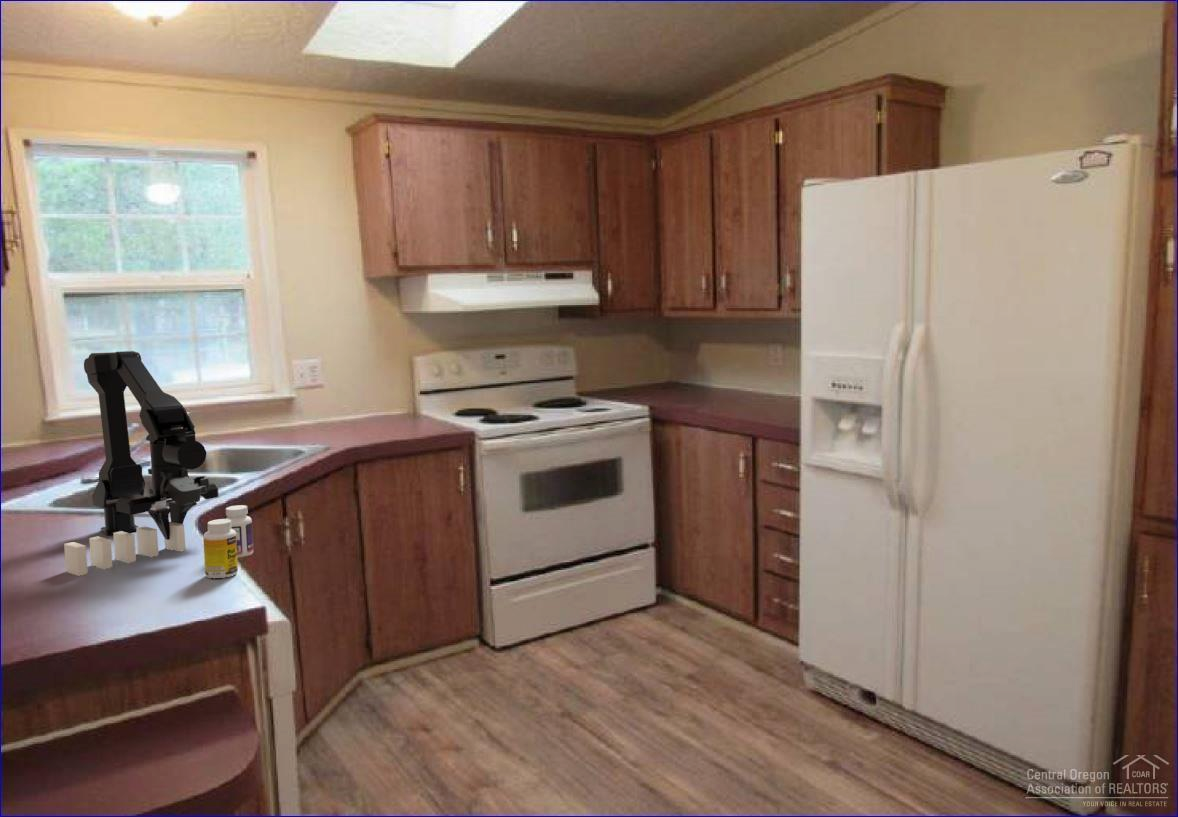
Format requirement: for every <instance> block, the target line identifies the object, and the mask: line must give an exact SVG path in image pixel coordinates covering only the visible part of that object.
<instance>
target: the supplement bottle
mask: <svg viewBox="0 0 1178 817" xmlns="http://www.w3.org/2000/svg"><path fill="white" fill-rule="evenodd" d="M231 526H232V525H231V520H229V519H226V518H219V519H213V520H210V521H208V522H207V531H206V532H205V533H204V534H203V536H202V537H203V553H204V554H203V555H204V558H203V559H204V572H205V576H206V578H208V579H211V578H214V579H213V580H216V579H215V578H223V579H226V578H225V577H228V578H231V577H233V576H232V575H234V576H236V575H237V573H238V571H239V568H238V567H239V566H238V558H237V538H236V531H235V530H233V529H231ZM230 576H231V577H230Z"/></svg>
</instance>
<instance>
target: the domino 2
mask: <svg viewBox="0 0 1178 817" xmlns="http://www.w3.org/2000/svg"><path fill="white" fill-rule="evenodd" d="M89 550H90V552H89V553H90V554H89V555H90V566H91V565H93V566H92V567H94V566H97V567H99V568H98V569H101V568H102V569H101V570H107V569H106V568H108V569H111V568H110V567H112V568H113V555H112V554H113V552H112V539H109V538H105V537H102V536H98V535H97V536H93V537H89ZM97 567H96V568H97Z"/></svg>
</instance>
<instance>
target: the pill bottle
mask: <svg viewBox="0 0 1178 817" xmlns="http://www.w3.org/2000/svg"><path fill="white" fill-rule="evenodd" d="M248 511H249V510H248V505H245V504H244V505H243V504H241V505H240V504H239V505H230V506H227V507H226V508H225V516H226V518H225V519H229V520H231V525H232V526H231V529H233V530H235V531H236V538H237V559H239V558H245V557H249V556H251V555H253V553H254V537H253V535H254V534H253V533H254V532H253V520H252V518H251V516H248V515H247V514H249V512H248Z"/></svg>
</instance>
